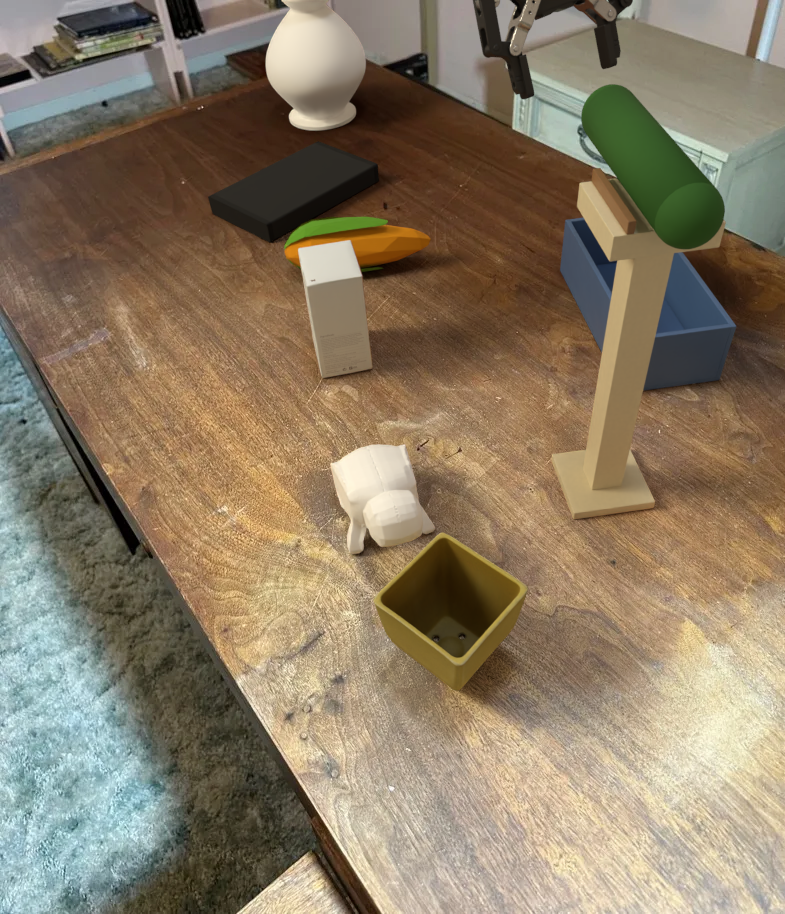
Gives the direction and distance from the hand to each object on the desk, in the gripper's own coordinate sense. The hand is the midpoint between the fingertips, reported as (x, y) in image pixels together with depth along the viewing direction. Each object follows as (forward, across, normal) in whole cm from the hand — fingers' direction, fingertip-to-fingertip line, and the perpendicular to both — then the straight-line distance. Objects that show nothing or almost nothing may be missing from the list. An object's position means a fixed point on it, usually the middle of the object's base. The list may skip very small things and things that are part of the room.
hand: (568, 82), depth 73 cm
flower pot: (+38, +30, +25) cm, 55 cm away
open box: (+29, -6, -9) cm, 31 cm away
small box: (+21, +29, -14) cm, 39 cm away
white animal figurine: (+32, +32, +11) cm, 46 cm away
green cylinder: (+7, +5, +21) cm, 23 cm away
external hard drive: (+6, +26, -52) cm, 58 cm away
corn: (+15, +22, -31) cm, 41 cm away
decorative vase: (-4, +15, -79) cm, 80 cm away
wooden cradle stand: (+35, +10, +11) cm, 38 cm away
